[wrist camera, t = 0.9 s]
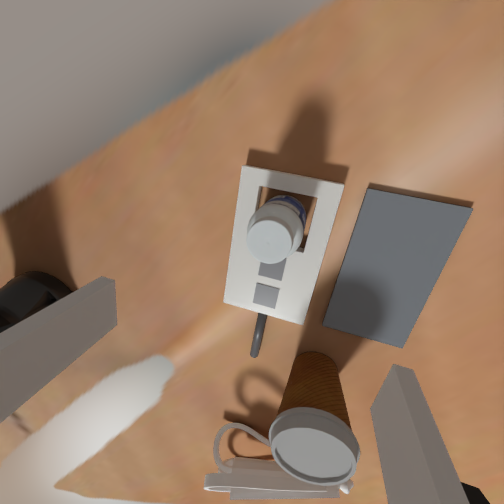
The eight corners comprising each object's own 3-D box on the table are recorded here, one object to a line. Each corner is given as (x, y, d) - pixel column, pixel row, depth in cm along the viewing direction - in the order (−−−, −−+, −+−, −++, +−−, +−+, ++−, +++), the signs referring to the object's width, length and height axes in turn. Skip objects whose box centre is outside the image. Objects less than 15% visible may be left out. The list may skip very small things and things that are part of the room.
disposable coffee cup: (312, 330, 35) (309, 409, 24) (364, 374, 36) (383, 471, 25) (269, 364, 39) (249, 446, 28) (316, 403, 40) (314, 498, 29)
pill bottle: (294, 245, 32) (284, 281, 23) (255, 227, 32) (230, 255, 23) (315, 205, 29) (312, 228, 21) (272, 186, 30) (251, 200, 21)
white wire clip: (354, 423, 37) (203, 424, 39) (371, 512, 32) (196, 508, 34) (334, 421, 51) (224, 421, 53) (343, 483, 46) (222, 481, 48)
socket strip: (290, 364, 38) (288, 373, 37) (220, 342, 40) (216, 350, 38) (343, 183, 28) (344, 185, 26) (245, 164, 30) (241, 165, 28)
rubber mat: (322, 323, 34) (322, 325, 34) (367, 188, 27) (368, 188, 27) (401, 345, 33) (402, 348, 32) (470, 207, 26) (473, 208, 25)
